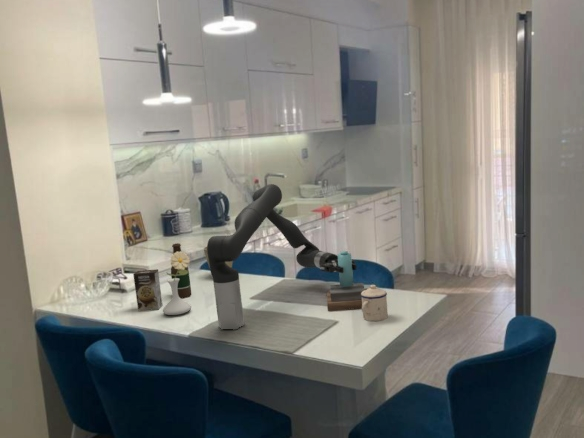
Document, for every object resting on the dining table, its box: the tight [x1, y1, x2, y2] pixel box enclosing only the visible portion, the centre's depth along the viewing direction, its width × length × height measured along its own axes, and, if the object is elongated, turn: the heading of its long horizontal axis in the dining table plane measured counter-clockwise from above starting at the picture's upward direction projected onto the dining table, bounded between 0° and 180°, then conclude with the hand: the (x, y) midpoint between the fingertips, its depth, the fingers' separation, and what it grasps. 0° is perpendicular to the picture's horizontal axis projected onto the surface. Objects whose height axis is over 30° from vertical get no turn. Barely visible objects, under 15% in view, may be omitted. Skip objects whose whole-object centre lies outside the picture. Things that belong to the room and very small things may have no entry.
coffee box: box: [133, 268, 163, 312], centre depth 233 cm, size 9×6×16 cm
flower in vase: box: [162, 250, 192, 316], centre depth 222 cm, size 13×11×25 cm
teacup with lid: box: [361, 284, 389, 322], centre depth 193 cm, size 12×9×12 cm
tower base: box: [326, 282, 368, 312], centre depth 214 cm, size 16×16×6 cm
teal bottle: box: [337, 250, 354, 287], centre depth 213 cm, size 5×5×13 cm
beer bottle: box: [170, 243, 192, 300], centre depth 246 cm, size 8×8×24 cm
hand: (349, 268), depth 210 cm, fingers closed on teal bottle, 5 cm apart
